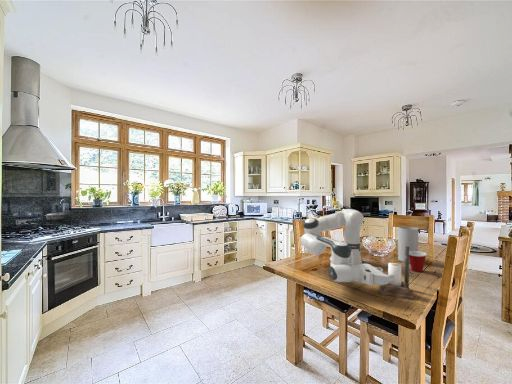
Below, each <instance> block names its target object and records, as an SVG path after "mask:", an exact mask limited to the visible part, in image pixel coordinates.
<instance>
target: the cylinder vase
mask: <svg viewBox="0 0 512 384" xmlns="http://www.w3.org/2000/svg"><path fill="white" fill-rule="evenodd" d="M397 229H398V230H397V232H398V233H397V234H398V235H397V244H398V245H397V259H398V261H400V262H403V263H405V246H408V247H409V251H419V228H418V227H415V226H414V227H412V226H398V228H397ZM409 264H410V260H409Z"/></svg>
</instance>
